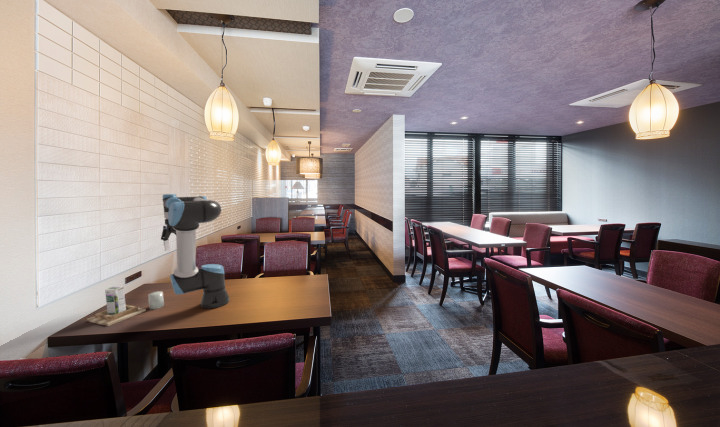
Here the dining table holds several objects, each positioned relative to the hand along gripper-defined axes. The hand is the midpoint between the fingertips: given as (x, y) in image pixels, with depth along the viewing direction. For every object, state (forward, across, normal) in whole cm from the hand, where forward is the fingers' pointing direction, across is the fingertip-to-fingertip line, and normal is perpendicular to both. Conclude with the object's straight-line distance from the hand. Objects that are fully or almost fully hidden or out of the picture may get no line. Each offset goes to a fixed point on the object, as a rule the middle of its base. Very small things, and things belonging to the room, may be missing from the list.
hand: (174, 251), depth 180 cm
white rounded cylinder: (+29, -6, +18) cm, 34 cm away
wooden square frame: (+29, +3, +33) cm, 44 cm away
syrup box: (+28, +3, +33) cm, 43 cm away
